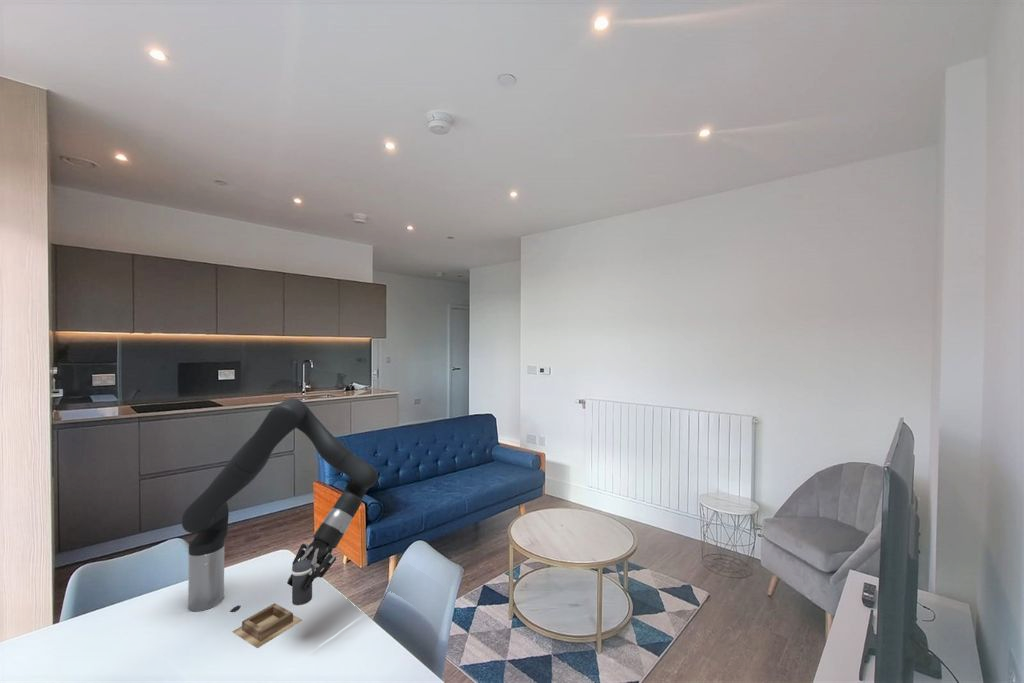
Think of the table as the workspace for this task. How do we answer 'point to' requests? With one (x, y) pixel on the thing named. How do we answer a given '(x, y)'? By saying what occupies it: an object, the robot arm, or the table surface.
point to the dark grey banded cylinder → (300, 582)
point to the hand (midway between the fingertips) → (296, 587)
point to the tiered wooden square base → (266, 625)
